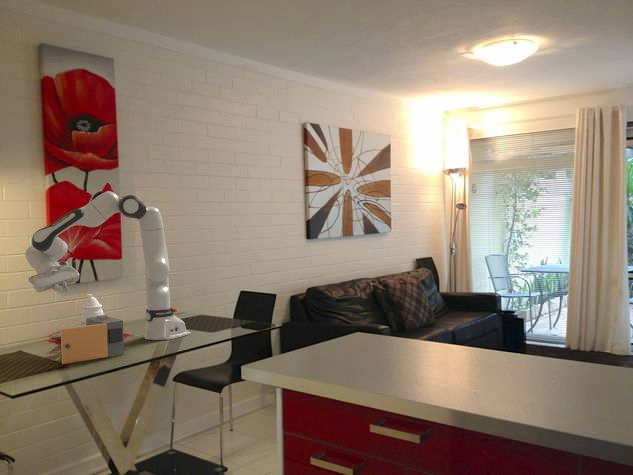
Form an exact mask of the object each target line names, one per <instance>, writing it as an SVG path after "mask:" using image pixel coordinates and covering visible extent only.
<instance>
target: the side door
mask: <svg viewBox="0 0 633 475" xmlns="http://www.w3.org/2000/svg"><path fill="white" fill-rule="evenodd" d="M60 346H61V347H60V350H61V351H60V352H61V364H62V365H65V364H71V363H77V362H83V361H89V360H95V359H102V358H103V359H104V358H105V357H108V346H107V324H106V323H104V324H96V325H89V326H81V327H80V326H75V327H66V328H60Z"/></svg>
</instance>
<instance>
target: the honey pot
mask: <svg viewBox="0 0 633 475" xmlns="http://www.w3.org/2000/svg"><path fill="white" fill-rule="evenodd" d="M86 296H87V299H86V302H85V303H84V305H82V306H81V308H82V312H81V315H80V317H79V327H81V326H86V318H91V317H97V315H105V313H104V310H103V308H102V307H103V305H102V304H101V303H100V302H99V301H98V299H97V298H96V297H95V296H93V294H92V293H89V294H86Z"/></svg>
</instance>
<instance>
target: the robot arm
mask: <svg viewBox="0 0 633 475" xmlns="http://www.w3.org/2000/svg"><path fill="white" fill-rule="evenodd" d="M117 213H120V214H122V216H124V217H125V218H128V219H136V220H137V221H138V224H139V228H140V229H139V230H140V237H141V244H142V253H143V258H144V267H145V268H144V269H145V270H144V272H145V292H146V295H145V296H146V309H145V318H146V327H145V333H144V339H145V340H149V341H150V340H152V341H160V340H162V341H163V340H165V341H167V340H168V341H169V340H173V339H178V338H181V337H184V336H189V335H191V331H190V330H188V329H187V328H186V323H185V322H184V321H183V320H182V319H181V318H179V317H178V316H176V315H175V314H174V313H177V312H178V309H177V308H175V307H173V308H172V307H171V292H170V282H169V281H170V280H169V275H170V272H171V267H170V261H169V255H168V248H167V241H166V235H165V234H166V233H165V229H164V222H163V217H162V214H161V211H160V209H159V208H157V207H154V206H146V205H145V203H144V202H143V200H142V199H141V198H140V197H139V196H137V195H135V194H128V195H124V196H121V197H120V196H118V195H117V194H116V193H115V192H113V191H110V190H107V191H105V192H103V193H101V194H100V195H97V196H96V197H95V198H93V199H92V200H90V202H89V203H87V204H86V205H83V206H82V207H79V208H75V209H73V210H70V211H69V212H67V213H66V214H64V215H63V216H61V217H59V218H58V219H57V220H55V221H53V222H52V223H50V224H49V225H47V226H45V227H42V228H39V229H38V230H37V231H35V232H34V233H33V235H32V237H31V245H30V246H28V247H27V249H26V250H25V253H24V254H25V259H26V261H27V263H29V265H30V266H31V268H32V269H34V270H35V272H36V274H35V275H31V276H30V277H29V278H28V282H29V283H30V284H31V285H32V287H33V289H34V291H35V292H37V293H43V292H45V291H49V290H52V289H55V290H57V291H60V293H64V292H68V291H69V287H68V286H67V285H70V284H72V283H76V282H78V281H79V280H80V273H79V271H77V270H76V269H75V268H74V267H73V266H71V265H70V264H69V262H68V261H61V260H62V259H63V258H64V257H65V256H66V255H67V254H68V250H69V247H68V243H67V242H66V241H64V240H63V239H62V238H60V237H58V236H60V235H61V234H63V233H65V231H67V230H68V229H71V227H74V226H83V227H84V226H85V227H87V228H96V227H99V226H101V225H102V224H103V223H105V222H106V221H107V220H108V219H109V218H110V217H112V216H113V215H114V214H117Z"/></svg>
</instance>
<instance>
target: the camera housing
mask: <svg viewBox="0 0 633 475" xmlns="http://www.w3.org/2000/svg"><path fill="white" fill-rule="evenodd" d="M104 323H106V324H107V346H108V357H110V358H114V356H115V357H120V356H123V355H125V345H124V344H125V343H124V341H125V340H124V320H123V319H119V318H114V317H110V316H108V315H107V314H104V315H97V317H91V318H86V326H89V325H96V324H104ZM108 357H106V358H105V359H109V358H108Z"/></svg>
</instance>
